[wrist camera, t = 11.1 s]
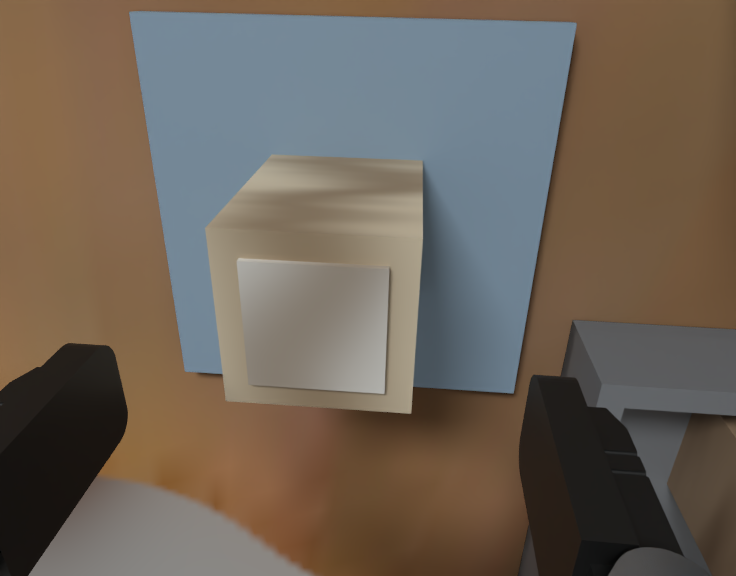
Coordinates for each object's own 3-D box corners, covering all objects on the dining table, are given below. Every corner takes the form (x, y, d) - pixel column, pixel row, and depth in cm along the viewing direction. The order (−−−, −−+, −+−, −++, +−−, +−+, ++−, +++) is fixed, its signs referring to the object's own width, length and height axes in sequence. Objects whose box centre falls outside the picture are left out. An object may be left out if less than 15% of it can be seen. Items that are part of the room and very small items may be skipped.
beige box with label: (422, 160, 17) (423, 241, 11) (414, 295, 19) (411, 417, 14) (271, 154, 17) (202, 230, 12) (279, 287, 19) (223, 405, 14)
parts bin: (998, 345, 19) (1115, 417, 16) (815, 635, 26) (871, 725, 23) (572, 319, 20) (602, 384, 16) (511, 607, 27) (523, 690, 24)
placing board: (571, 22, 15) (576, 23, 15) (511, 383, 21) (513, 393, 20) (138, 11, 16) (129, 11, 16) (190, 362, 22) (184, 371, 21)
